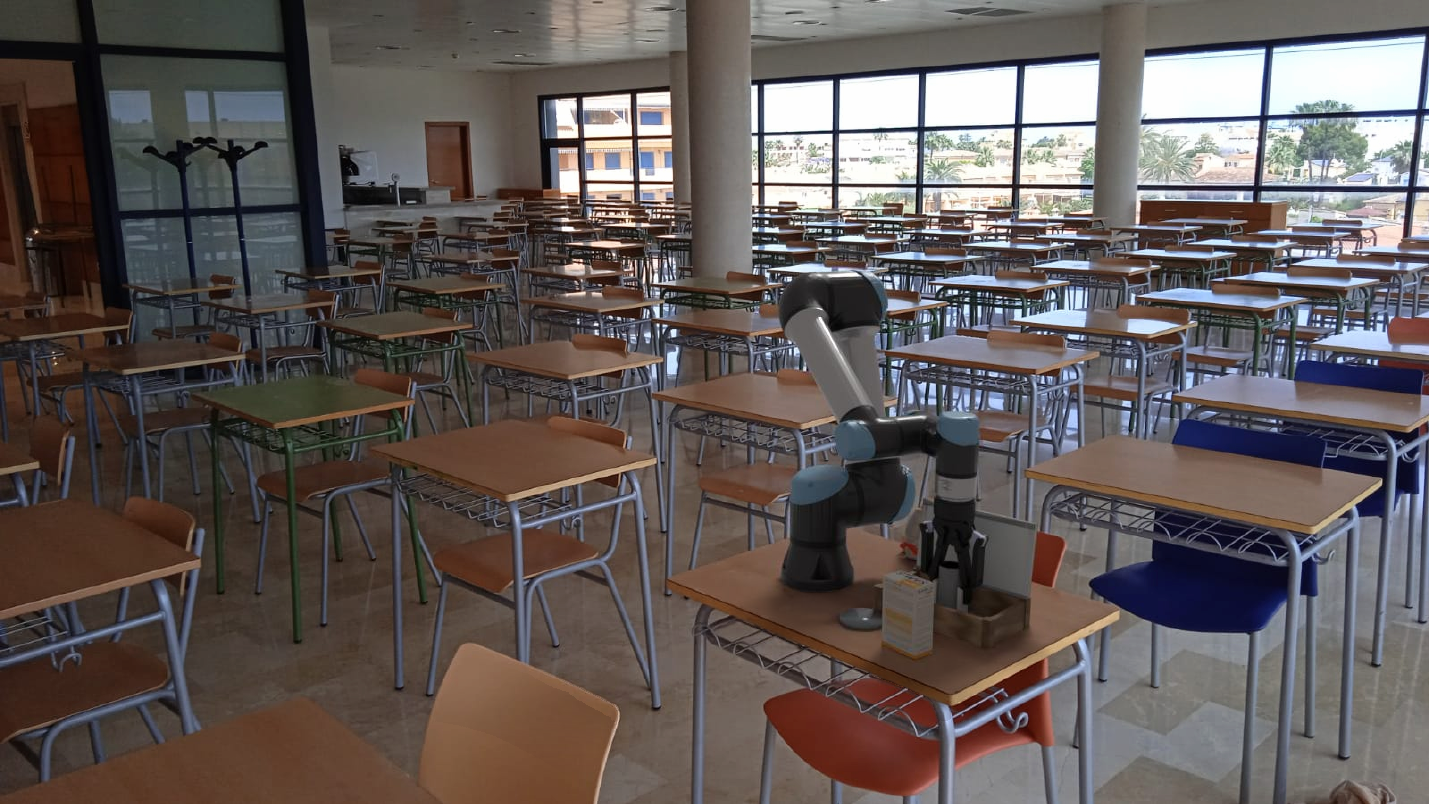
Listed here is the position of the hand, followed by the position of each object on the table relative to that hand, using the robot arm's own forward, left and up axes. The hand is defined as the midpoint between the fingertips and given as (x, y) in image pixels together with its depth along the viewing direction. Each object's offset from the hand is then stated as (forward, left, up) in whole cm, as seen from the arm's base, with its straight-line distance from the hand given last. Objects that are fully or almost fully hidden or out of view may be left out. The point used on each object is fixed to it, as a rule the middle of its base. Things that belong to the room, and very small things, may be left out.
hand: (949, 614), depth 197 cm
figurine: (-24, +25, -1) cm, 34 cm away
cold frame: (0, 0, -1) cm, 1 cm away
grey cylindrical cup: (0, 0, 0) cm, 0 cm away
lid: (0, +7, +12) cm, 13 cm away
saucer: (-11, -12, -1) cm, 17 cm away
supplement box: (+2, -17, -1) cm, 17 cm away
